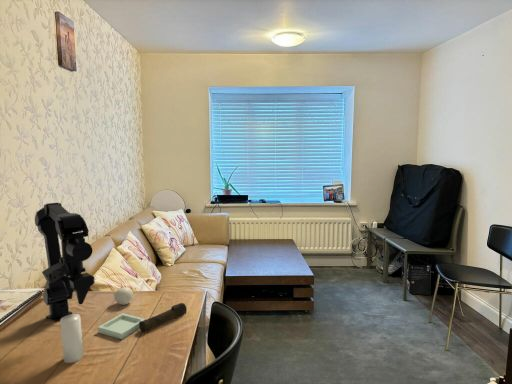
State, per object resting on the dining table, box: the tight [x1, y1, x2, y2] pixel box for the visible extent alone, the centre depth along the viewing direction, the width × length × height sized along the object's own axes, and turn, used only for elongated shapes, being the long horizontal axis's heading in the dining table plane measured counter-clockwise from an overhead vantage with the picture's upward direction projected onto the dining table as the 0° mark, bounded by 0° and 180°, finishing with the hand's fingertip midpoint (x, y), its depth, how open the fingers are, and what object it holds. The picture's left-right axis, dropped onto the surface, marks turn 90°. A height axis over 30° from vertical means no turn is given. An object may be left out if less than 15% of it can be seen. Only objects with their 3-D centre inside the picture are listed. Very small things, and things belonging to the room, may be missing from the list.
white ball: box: [113, 286, 134, 306], centre depth 141 cm, size 7×7×7 cm
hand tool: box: [139, 302, 188, 334], centre depth 125 cm, size 19×4×5 cm, turn 137°
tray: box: [97, 313, 147, 340], centre depth 121 cm, size 11×11×2 cm
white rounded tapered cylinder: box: [59, 313, 84, 364], centre depth 103 cm, size 5×5×12 cm
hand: (75, 299), depth 114 cm, fingers open, 9 cm apart
